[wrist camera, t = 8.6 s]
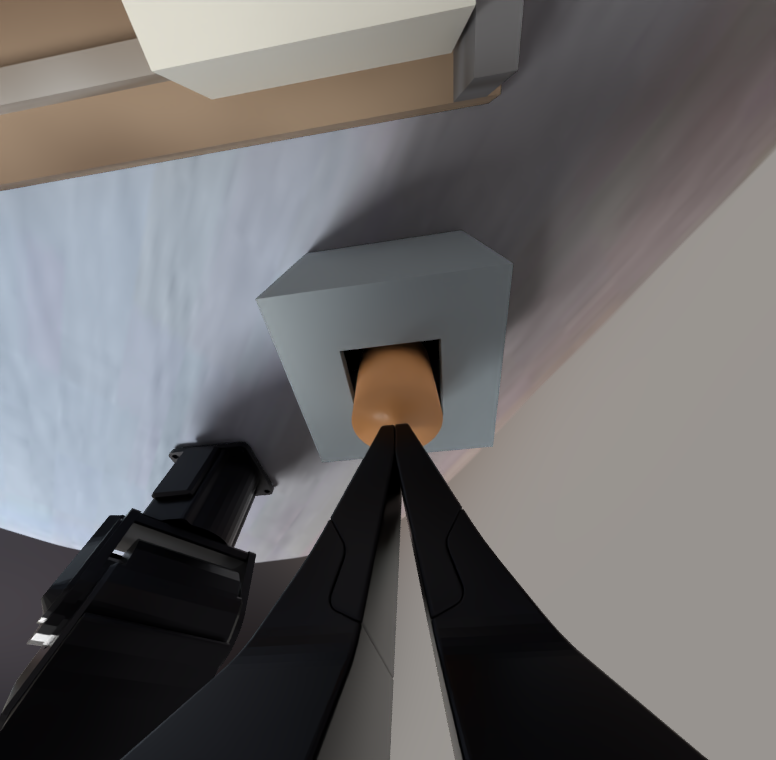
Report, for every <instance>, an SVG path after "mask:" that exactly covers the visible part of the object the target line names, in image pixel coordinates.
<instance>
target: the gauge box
mask: <svg viewBox="0 0 776 760" xmlns="http://www.w3.org/2000/svg"><path fill="white" fill-rule="evenodd" d="M512 272H513V263H512V262H511V261H509V260H507V259H506V258H504V257H503V256H501V255H500V254H498V253H497V252H495V251H493V250H492V249H490V248H489V247H487V246H486V245H484V244H483V243H481V242H480V241H478V240H476V239H475V238H473V237H472V236H470V235H469V234H467V233H466V232H464V231H463V230H459V231H453V232H446V233H439V234H433V235H426V236H419V237H412V238H406V239H399V240H392V241H386V242H379V243H372V244H365V245H359V246H352V247H345V248H339V249H332V250H325V251H318V252H312V253H306V254H305V255H304V256H303V257H302V258H301V259H299V260H298V261H297V262H296V263H295V264H294V265H293V266H292V267H291V268H289V269H288V270H287V271H286V272H285V273H284V274H283V275H282V276H281V277H279V278H278V279H277V280H276V281H275V282H274V283H273V284H272V285H271V286H270V287H268V288H267V289H266V290H265V291H264V292H263V293H262V294H261V295H260V296H258V297H257V298H256V302H257V304H258V307H259V309H260V311H261V314H262V316H263V319H264V321H265V324H266V326H267V329H268V331H269V333H270V336H271V338H272V341H273V343H274V346H275V348H276V351H277V353H278V355H279V358H280V360H281V363H282V365H283V368H284V370H285V373H286V375H287V377H288V380H289V382H290V385H291V387H292V390H293V392H294V395H295V397H296V399H297V402H298V404H299V407H300V409H301V412H302V414H303V417H304V419H305V421H306V424H307V426H308V429H309V431H310V434H311V436H312V439H313V441H314V443H315V446H316V448H317V451H318V453H319V456H320V458H321V460H322V462H331V461H342V460H353V459H363V458H364V456H365V455H366V453H367V451H368V449H369V447H370V446H369V445H367V444H365V443H364V442H363V441H362V440H361V439H360V438H359V437H358V436H357V435H356V433H355V431H354V429H353V427H352V412H353V405H354V398H355V391H356V384H357V377H358V371H359V369H356V370H348V367H347V363H346V359H345V355H344V351H345V350H353V349H361V348H369V347H378V346H386V345H394V344H402V343H410V342H419V341H427V340H435V339H439V360H433V361H430V364H431V368H432V372H433V376H434V380H435V384H436V388H437V392H438V397H439V401H440V405H441V409H442V413H443V423H442V426H441V429H440V431H439V433H438V434H437V435H436V437H435V438H434V439H433V440H432V441H430V442H429V443H428V444H426V445H424V446H423V447H424V449H425V450H426V452H427V453H428V452H438V451H449V450H460V449H470V448H481V447H492V446H493V441H494V432H495V423H496V414H497V405H498V396H499V387H500V379H501V370H502V361H503V352H504V343H505V334H506V325H507V316H508V307H509V298H510V290H511V281H512Z"/></svg>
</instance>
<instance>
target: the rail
mask: <svg viewBox="0 0 776 760" xmlns="http://www.w3.org/2000/svg"><path fill="white" fill-rule="evenodd" d="M523 6H524V0H476V5H475V7H474V9H473V11H472V13H471V15H470V17H469V19H468V21H467V23H466V25H465V27H464V29H463V31H462V33H461V35H460V37H459V39H458V41H457V43H456V45H455V47H454V49H453V51H452V53H449V54H444V55H439V56H433V57H428V58H423V59H418V60H413V61H408V62H403V63H397V64H392V65H387V66H382V67H377V68H372V69H366V70H361V71H356V72H351V73H346V74H341V75H336V76H330V77H325V78H320V79H315V80H310V81H305V82H300V83H294V84H289V85H284V86H279V87H274V88H269V89H263V90H258V91H253V92H248V93H243V94H238V95H233V96H227V97H222V98H217V99H210V98H208V97H205V96H203V95H201V94H199V93H197V92H195V91H193V90H190V89H188V88H186V87H184V86H182V85H180V84H178V83H176V82H173V81H171V80H169V79H167V78H165V77H163V76H161V75H158V74H156V73H154V72H152V71H151V69H150V66H149V64H148V62H147V59H146V57H145V55H144V52H143V50H142V48H141V45H140V43H139V40H138V38H137V36H136V33H135V31H134V29H133V26H132V24H131V22H130V19H129V17H128V15H127V12H126V10H125V7H124V5H123V3H122V0H0V191H3V190H9V189H14V188H20V187H25V186H31V185H36V184H42V183H48V182H53V181H59V180H64V179H70V178H75V177H81V176H87V175H92V174H98V173H103V172H109V171H114V170H120V169H125V168H131V167H137V166H142V165H148V164H153V163H159V162H164V161H170V160H176V159H181V158H187V157H192V156H198V155H203V154H209V153H214V152H220V151H226V150H231V149H237V148H242V147H248V146H253V145H259V144H265V143H270V142H276V141H281V140H287V139H292V138H298V137H304V136H309V135H315V134H320V133H326V132H331V131H337V130H342V129H348V128H354V127H359V126H365V125H370V124H376V123H381V122H387V121H393V120H398V119H404V118H409V117H415V116H420V115H426V114H431V113H437V112H443V111H448V110H454V109H459V108H465V107H470V106H476V105H482V104H487V103H489V102H491V101H492V100H493V99H495V98H496V97H497V96H499V95H500V94H501V84H502V83H503V82H504V81H506V80H507V79H508V78H509V77H510V76H512V75H513V74H514V73H515V72H516V71H517V70H518V63H519V52H520V40H521V29H522V18H523Z"/></svg>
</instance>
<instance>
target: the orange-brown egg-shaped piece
mask: <svg viewBox="0 0 776 760" xmlns="http://www.w3.org/2000/svg"><path fill="white" fill-rule="evenodd" d="M402 423H408V424H409V425H410V427H411V429H412V430H413V432H414V433H415V435H416V436H417V438H418V439H419V441H420V443H421V444H422V446H424V445H426V444H428V443H429V442H430V441H432V440H433V439H434V438H435V437H436V435H437V434H438V433H439V431H440V429H441V426H442V423H443V413H442V409H441V405H440V401H439V397H438V392H437V388H436V384H435V380H434V376H433V372H432V368H431V364H430V359H429V356H428V352H427V350H426V348H425V347H424V345H423V344H422V343H421V342H420V341H419V342H410V343H402V344H394V345H386V346H378V347H369V348H364V350H363V352H362V354H361V357H360V364H359V371H358V377H357V384H356V391H355V398H354V405H353V412H352V427H353V429H354V431H355V433H356V435H357V436H358V437H359V438H360V439H361V440H362V441H363V442H364V443H365V444H367V445H369V446H370V445H371V444H372V442H373V440H374V438H375V436H376V435H377V433H378V431H379V429H380V428H381V426H383V425H394V426H395V425H396V424H402Z"/></svg>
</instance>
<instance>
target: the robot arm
mask: <svg viewBox="0 0 776 760" xmlns="http://www.w3.org/2000/svg"><path fill="white" fill-rule="evenodd" d="M169 457H170V458H171V459H172V461H173V462H174V463H175V464H174V465H173V466H172V468H171V469H170V470H169V472H168V473H167V474H166V476H165V477H164V478H163V480H162V481H161V482H160V484H159V485H158V486H157V488H156V489H155V490H154V492H153V494H152V497H153V498H154V499H153V500H152V502H151V503H150V504H149V506H148V507H147V508H146V510H145V511H144V513H143V514H142V513H141V511H139V510H136V509H133V508H132V509H131V510H130V511H129V512H128V514H127V515H126V516H124V515H110V516H109V517H108V518H107V519H106V520H105V522H104V523H103V524H102V525H101V527H100V528H99V529H98V530H97V531H96V533H95V534H94V535H93V536H92V537H91V539H90V540H89V541H88V542H87V543H86V545H85V546H84V547H83V548H82V549H81V551H80V552H79V553H78V554H77V556H76V557H75V558H74V559H73V560H72V562H71V563H70V564H69V565H68V566H67V568H66V569H65V570H64V571H63V573H62V574H61V575H60V576H59V577H58V579H57V580H56V581H55V582H54V583H53V585H52V586H51V587H50V588H49V589H48V591H47V592H46V593H45V594H44V595H43V597H42V598H41V601H42V609H43V615H42V616H41V618H40V619H39V621H38V622H37V624H40V626H39V627H38V628H37V630H36V631H35V632H34V634H33V635H32V636H31V638H30V639H29V641H28V642H27V644H32V645H37V646H42V647H41V649H40V650H39V651H38V653H37V654H36V655H35V657H34V658H33V659H32V661H31V662H30V663H29V665H28V666H27V667H26V669H25V670H24V671H23V673H22V674H21V675H20V677H19V678H18V680H17V681H16V683H15V684H14V686H13V689H12V691H11V693H10V695H9V698H8V700H7V702H6V705H5V707H4V709H3V712H2V713H1V716H0V760H390V744H391V722H392V700H393V679H392V678H393V676H394V655H395V654H394V653H395V631H396V612H397V611H396V610H397V589H398V568H399V546H400V524H401V502H402V496H403V502H404V507H405V512H406V517H407V522H408V527H409V532H410V537H411V542H412V547H413V552H414V556H415V562H416V567H417V572H418V577H419V582H420V586H421V592H422V597H423V602H424V607H425V612H426V617H427V621H428V626H429V631H430V636H431V642H432V646H433V651H434V657H435V662H436V667H437V672H438V676H439V682H440V687H441V692H442V696H443V701H444V707H445V711H446V716H447V722H448V727H449V731H450V736H451V741H452V746H453V751H454V756H455V760H708V759H707V758H706V757H704V756H703V755H702V754H701V753H699V752H698V751H697V750H696V749H695V748H693V747H692V746H691V745H690V744H689V743H688V742H686V741H685V740H684V739H683V738H682V737H680V736H679V735H678V734H677V733H676V732H675V731H673V730H672V729H671V728H670V727H669V726H667V725H666V724H665V723H664V722H663V721H661V720H660V719H659V718H658V717H657V716H655V715H654V714H653V713H652V712H651V711H649V710H648V709H647V708H646V707H645V706H643V705H642V704H641V703H640V702H639V701H638V700H636V699H635V698H634V697H633V696H632V695H630V694H629V693H628V692H627V691H626V690H624V689H623V688H622V687H621V686H620V685H618V684H617V683H616V682H615V681H614V680H613V679H611V678H610V677H609V676H608V675H606V674H605V673H604V672H603V671H602V670H601V669H599V668H598V667H597V666H596V665H595V664H593V663H592V662H591V661H590V660H589V659H587V658H586V657H585V656H584V655H583V654H582V653H581V652H579V651H578V650H577V649H576V648H575V647H574V646H573V645H572V644H571V643H570V642H569V641H568V640H567V639H566V638H565V637H564V636H563V635H562V634H561V633H560V632H559V631H558V630H557V629H556V628H555V626H554V625H553V624H552V623H551V622H550V621H549V620H548V618H547V617H546V616H545V615H544V614H543V613H542V611H541V610H540V609H539V608H538V606H536V604H535V603H534V602H533V600H532V599H531V598H530V597H529V596H528V594H527V593H526V592H525V591H524V589H523V588H522V587H521V586H520V585H519V583H518V582H517V581H516V579H515V578H514V577H513V576H512V575H511V573H510V572H509V571H508V570H507V568H506V567H505V566H504V565H503V564H502V562H501V561H500V560H499V559H498V557H497V556H496V555H495V554H494V552H493V551H492V550H491V548H490V547H489V546H488V544H487V543H486V542H485V540H484V539H483V538H482V536H481V535H480V533H479V532H478V530H477V529H476V527H475V526H474V525H473V523H472V522H471V520H470V518H469V517H468V515H467V514H466V512H465V511H464V510H463V509H462V506H461V505H460V503H459V502H458V500H457V499H456V497H455V496H454V494H453V492H452V491H451V489H450V488H449V486H448V485H447V483H446V481H445V480H444V478H443V477H442V475H441V474H440V472H439V471H438V469H437V467H436V466H435V464H434V463H433V461H432V460H431V458H430V457H429V455H428V453H427V452H426V450H425V449H424V447H423V446H422V444H421V443H420V441H419V439H418V438H417V436H416V435H415V433H414V432H413V430H412V429H411V427H410V425H409V424H408V423H402V424H396V425H395V426H394V425H383V426H381V428H380V429H379V431H378V433H377V435H376V436H375V438H374V440H373V442H372V444H371V445H370V447H369V449H368V451H367V453H366V455H365V456H364V458H363V460H362V462H361V464H360V465H359V467H358V469H357V471H356V473H355V474H354V476H353V478H352V480H351V482H350V483H349V485H348V487H347V489H346V491H345V492H344V494H343V496H342V498H341V500H340V501H339V503H338V505H337V507H336V509H335V510H334V512H333V514H332V516H331V520H329V521H328V523H327V525H326V526H325V528H324V530H323V532H322V534H321V535H320V537H319V539H318V540H317V542H316V544H315V545H314V547H313V549H312V551H311V552H310V554H309V555H308V557H307V559H306V560H305V561H304V563H303V564H302V566H301V568H300V569H299V570H298V572H297V573H296V575H295V576H294V578H293V579H292V581H291V582H290V584H289V585H288V586H287V588H286V589H285V591H284V592H283V594H282V595H281V597H280V598H279V599H278V601H277V602H276V604H275V605H274V607H273V608H272V610H271V611H270V612H269V614H268V616H267V617H266V618H265V620H264V621H263V623H262V624H261V625H260V627H259V628H258V630H257V631H256V633H255V634H254V635H253V637H252V638H251V640H250V641H249V642H248V643H247V644H246V646H245V647H244V648H243V649H242V650H241V651H240V652H239V654H238V655H237V656H236V657H235V658H234V659H233V660H232V661H231V662H230V663H229V664H228V665H227V666H226V667H225V668H224V669H223V670H222V671H221V672H219V673H218V674H217V675H216V676H215V674H216V672H217V670H218V669H219V668H220V667H221V665H222V664H223V662H224V661H225V660H226V658H227V656H228V655H229V653H230V651H231V650H232V647H233V645H234V643H235V641H236V639H237V637H238V634H239V631H240V629H241V626H242V623H243V619H244V615H245V611H246V605H247V600H248V595H249V589H250V584H251V578H252V573H253V568H254V563H255V558H256V554H255V553H252V552H250V551H249V552H245V551H243V550H240V549H237V548H234V546H235V544H236V541H237V539H238V537H239V534H240V532H241V529H242V527H243V525H244V522H245V520H246V517H247V515H248V513H249V510H250V508H251V505H252V503H253V501H254V498H255V496H259V495H270V494H272V492H273V490H274V487H273V485H272V483H271V482H270V480H269V478H268V477H267V475H266V473H265V472H264V470H263V469H262V467H261V465H260V464H259V462H258V460H257V459H256V457H255V455H254V454H253V452H252V450H251V449H250V447H249V446H248V444H246V443H243V442H238V443H228V444H218V445H208V446H198V447H188V448H178V449H173V450H172V451H171V452H170V454H169ZM401 491H402V492H401ZM114 549H115V550H119V551H122V552H125V553H124V555H123V556H121V555H117V554H114V553H112V552H113V551H114ZM214 676H215V677H214Z"/></svg>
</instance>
